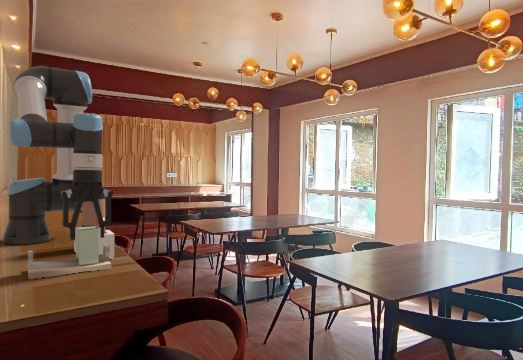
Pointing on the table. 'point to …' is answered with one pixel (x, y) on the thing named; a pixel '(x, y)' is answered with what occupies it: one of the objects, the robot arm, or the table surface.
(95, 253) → the carriage
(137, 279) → the table surface
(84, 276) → the table surface
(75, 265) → the rail
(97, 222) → the button
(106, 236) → the hollow box
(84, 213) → the travel mug
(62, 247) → the table surface
